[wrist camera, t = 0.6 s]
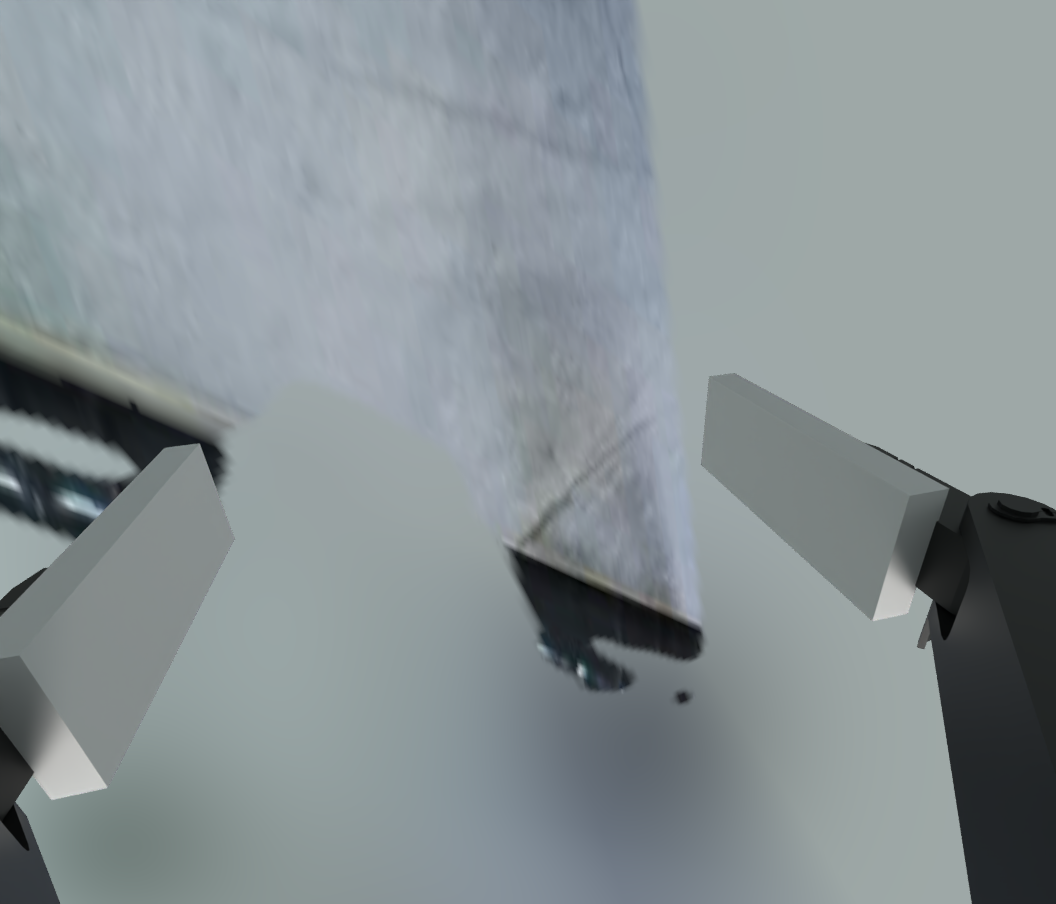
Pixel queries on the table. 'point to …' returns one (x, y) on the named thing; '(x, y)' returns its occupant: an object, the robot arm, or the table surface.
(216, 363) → the table surface
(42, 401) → the table surface
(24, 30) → the table surface
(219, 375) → the table surface
